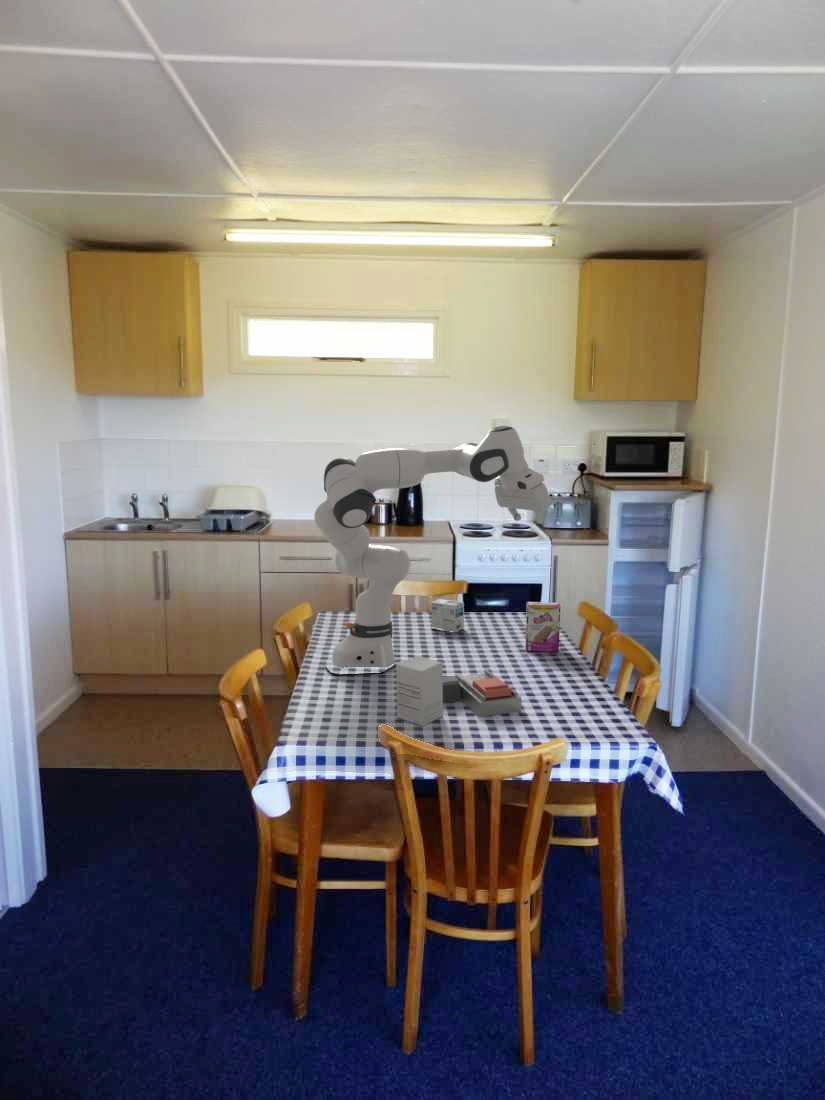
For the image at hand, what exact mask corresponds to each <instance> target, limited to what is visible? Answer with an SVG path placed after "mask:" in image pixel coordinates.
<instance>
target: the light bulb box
mask: <svg viewBox="0 0 825 1100" xmlns="http://www.w3.org/2000/svg"><path fill="white" fill-rule="evenodd" d="M464 602H465V601H458V600H449V599H443V598H439V599H436V600H433V601H431V607H430V608H431V610H430V611H431V628H432V627H437V628H441V629H445V630H448V631H453V632H457V631H459V630H461V629H463V628H464V629H465V626H464V625H465V608H464V607H465V603H464ZM461 631H462V630H461ZM459 632H460V631H459ZM457 633H458V632H457Z"/></svg>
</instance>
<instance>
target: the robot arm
mask: <svg viewBox="0 0 825 1100" xmlns="http://www.w3.org/2000/svg"><path fill="white" fill-rule="evenodd" d="M449 472H453V473H456V474H458V475H460V476H463V477H467V478H470V479H471V480H474V481H475V482H476V481H477V482H479V483H488V482H490V481H493V480H494V492H495V498H496V502H497V504H498V506H499V507H500V508H507V509H508V512H509V513H510V515H511V516H512V518H513V520H514V521H515V522H516V521H517V522H518V521H520V520H521V519H522V515H521V513H519V512H518V510H524V511H534V514H535V517H534V522H535V524H542V523H543V522H544V519H543V514H544V513H543V512H544V511H546V510H548V509H550V507H551V504H552V502H551V498H550V495H549V491H548V488H547V486H546V484H545V483H543V482H544V481H545V477H544V475H543V474H542V473H539V472H537V471H535V470H533V469H532V468H530V467H529V464H528V462H527V461H526V459H525V451H524V447H523V444H522V441H521V438H520V436H519V434H518V432H517V430H516V429H515V428H514V427H512V426H507V425H502V426H501V425H500V426H496V427H493V428H491V429H489V430H488V432H487V434H486V436H485V438H483V440H482V441H481V442H480V444H477V443H474V442H466V443H462V444H460V445H458V446H457V447H454V448H453V449H448V450H436V451H422V450H418V449H411V448H401V447H400V448H399V447H398V448H394V447H393V448H384V449H377V450H371V451H368V452H364V453H361V454H360V455H359V456H358V457H357V458H356V460H355V461H354V460H352V459H351V458H347V457H338V458H335V459H332V460H331V461H330V462H329V463H328V464H327V465H325V470H324V473H323V490H324V492H325V493H326V496H327V497H326V500H324V501H322V503H320V504H319V505H318V506H317V508H316V509H315V511H314V522H315V524H316V526H317V528H318V530H319V531H320V532H321V534H322V536H323V538H325V539H326V540H327V542H328V543H330V545H331V546H333V548H334V549H335V550H336V551H337V552H336V554H335V560H334V561H335V567H336V569H337V572H339V573H341V574H343V575H345V576H348V577H352V578H356V579H364V580H368V582H369V583H368V587H367V589H366V590H364V591H362V592H361V593H360V594H358V595H357V597H356V599H355V622H353V623H352V622H351V621H347V622H346V623H345V627H346V628H347V629H348V630H349V634H348V635H347V636H346V637H345V638H343V639H342V640H341V641H339V642H338V643H337V644H336V645H335V646H334V648H333V651H332V652H333V653H332V657H331V659H332V662H333V664H334V665H336V666H337V667H341V668H344V667H346V668H348V667H388V666H390V665H392V664H394V663H395V661H396V658H395V654H394V649H393V640H392V639H393V634H394V633H393V621H392V620H391V618H392V617H391V613H392V612H391V611H392V610H391V609H392V597H393V593H394V591H395V589H396V588H397V586H398V584H399V583H400V582H402V581H404V579H405V578H406V577H407V576H408V574H409V572H410V570H411V559H410V556H409V554H408V553H407V551H405V550H403V549H400V548H398V547H396V546H395V547H394V546H390V545H382V544H381V545H380V544H373V543H371V534H370V531H369V529H367V527H366V526H365V524H366V523H367V522H368V521H369V519H370V517H371V515H372V512H373V507H374V505H375V503H376V502H377V499H376V496H375V495H374V493H376V492H377V491H379V490H385V489H389V490H390V489H405V488H410V487H414V486H417V485H419V484H420V483H421V482H422V481H423V480H424V478H425V476H426V475H429V474H439V473H449Z"/></svg>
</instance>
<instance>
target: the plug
mask: <svg viewBox="0 0 825 1100" xmlns="http://www.w3.org/2000/svg"><path fill="white" fill-rule="evenodd" d="M461 701H462V700H461V684H460V683H459V680H458V679H457V678H455V675H448V676H447V675H446V676H443V704H448V703H447V702H449V703H454V702H455V703H456V702H457V703H458V702H461Z"/></svg>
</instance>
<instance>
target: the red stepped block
mask: <svg viewBox="0 0 825 1100" xmlns="http://www.w3.org/2000/svg"><path fill="white" fill-rule="evenodd" d="M473 687H475V688H476V689H477V690H478V691H479V692H481V693H482V694H483V695H484V696H485V697H486V698H493V697H501V696H509V695H511V688H512V687H511V686H509V684H507V683H506V682H504V681H503V680H501V679H500V678H499V677H497V678H489V679H480V680H473Z"/></svg>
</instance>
